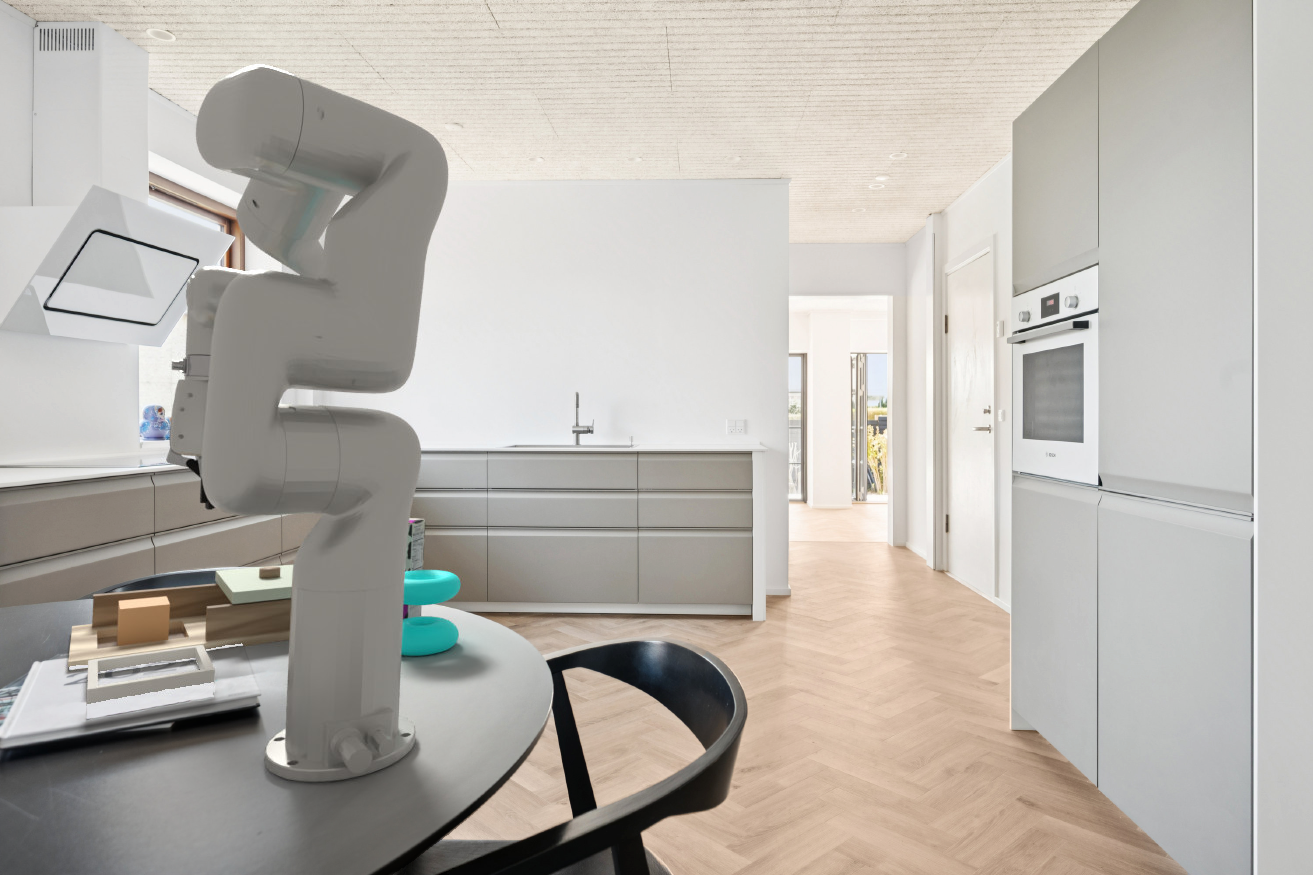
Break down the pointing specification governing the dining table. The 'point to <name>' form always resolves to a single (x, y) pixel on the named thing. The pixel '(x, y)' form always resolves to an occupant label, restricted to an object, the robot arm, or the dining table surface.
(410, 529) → the candy bar box
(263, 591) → the cover
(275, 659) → the dining table surface
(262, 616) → the brown wooden open box
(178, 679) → the dish
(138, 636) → the block
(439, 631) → the donuts
